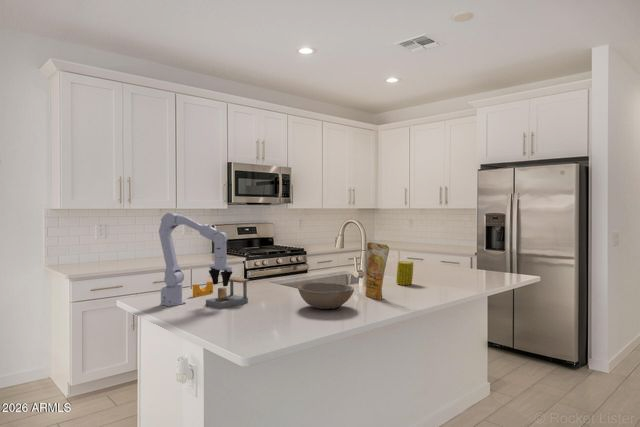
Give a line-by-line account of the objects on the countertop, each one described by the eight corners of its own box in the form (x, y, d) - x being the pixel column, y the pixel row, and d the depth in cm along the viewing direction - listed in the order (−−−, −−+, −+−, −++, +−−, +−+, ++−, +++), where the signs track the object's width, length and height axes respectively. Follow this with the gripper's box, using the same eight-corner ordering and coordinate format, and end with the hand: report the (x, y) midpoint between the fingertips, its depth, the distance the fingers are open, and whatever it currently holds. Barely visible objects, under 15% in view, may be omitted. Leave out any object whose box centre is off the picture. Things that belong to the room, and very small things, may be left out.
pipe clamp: (207, 292, 241) (207, 280, 241) (213, 293, 239) (213, 281, 238) (190, 296, 231) (190, 284, 231) (196, 297, 228) (196, 284, 228)
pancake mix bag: (372, 293, 238) (372, 241, 237) (390, 300, 220) (390, 244, 219) (361, 294, 235) (361, 242, 235) (378, 301, 217) (378, 245, 217)
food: (403, 285, 271) (415, 288, 263) (389, 282, 266) (400, 285, 257) (409, 261, 272) (420, 263, 263) (394, 257, 266) (405, 260, 258)
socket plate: (222, 308, 201) (222, 283, 201) (205, 304, 210) (205, 280, 210) (248, 302, 214) (248, 279, 214) (231, 299, 222) (231, 276, 222)
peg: (228, 304, 210) (228, 288, 210) (221, 306, 207) (221, 289, 207) (223, 303, 212) (222, 287, 212) (216, 305, 209) (216, 288, 209)
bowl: (321, 299, 222) (321, 279, 222) (365, 306, 205) (365, 285, 205) (285, 308, 202) (285, 287, 202) (330, 317, 185) (330, 294, 185)
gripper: (236, 257, 208) (236, 285, 209) (217, 255, 218) (217, 282, 218) (224, 258, 203) (224, 287, 203) (205, 256, 212) (206, 284, 212)
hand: (220, 285), depth 210 cm, fingers open, 7 cm apart
